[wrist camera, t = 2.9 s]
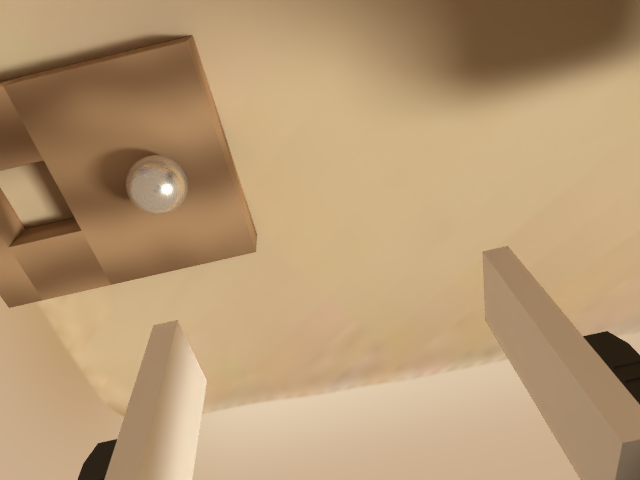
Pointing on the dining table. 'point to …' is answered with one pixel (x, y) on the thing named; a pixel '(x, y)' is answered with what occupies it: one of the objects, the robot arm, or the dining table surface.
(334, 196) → the dining table surface
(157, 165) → the ball
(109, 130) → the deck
